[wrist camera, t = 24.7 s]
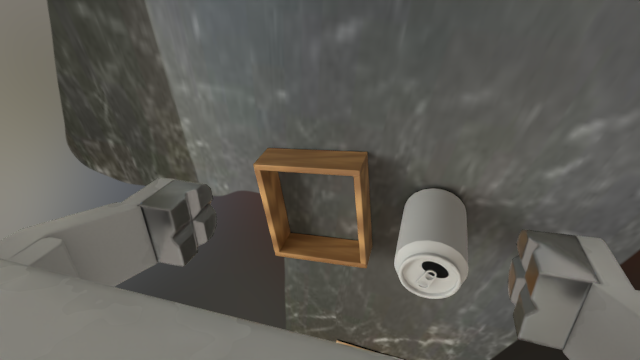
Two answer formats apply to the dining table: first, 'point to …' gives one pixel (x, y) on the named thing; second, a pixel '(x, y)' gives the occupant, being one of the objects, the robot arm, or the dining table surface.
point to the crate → (276, 212)
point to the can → (432, 244)
